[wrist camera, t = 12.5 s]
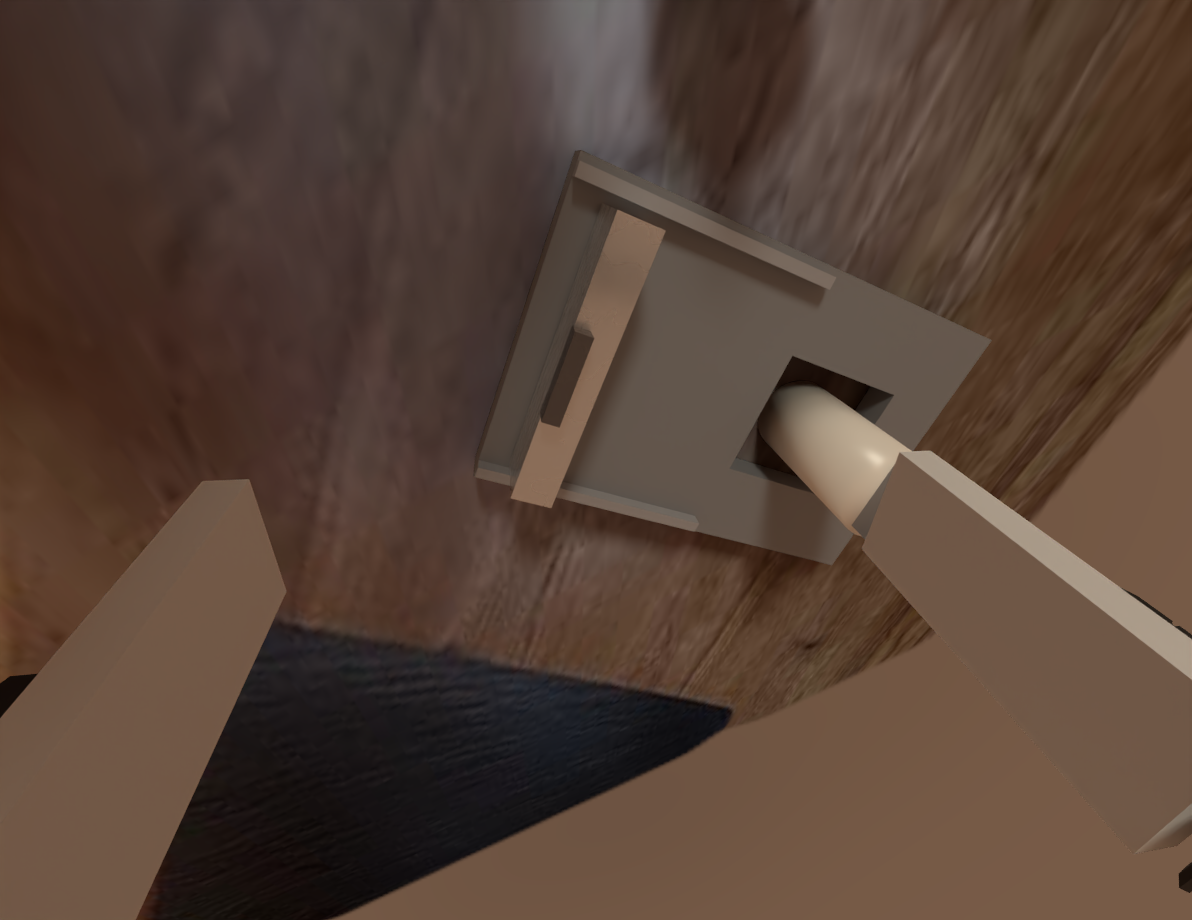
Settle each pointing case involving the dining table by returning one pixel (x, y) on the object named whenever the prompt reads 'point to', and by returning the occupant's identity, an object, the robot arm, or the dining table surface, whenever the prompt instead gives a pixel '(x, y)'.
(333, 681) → the dining table surface
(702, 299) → the housing plate
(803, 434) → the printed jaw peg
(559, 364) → the lock bar
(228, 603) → the robot arm
